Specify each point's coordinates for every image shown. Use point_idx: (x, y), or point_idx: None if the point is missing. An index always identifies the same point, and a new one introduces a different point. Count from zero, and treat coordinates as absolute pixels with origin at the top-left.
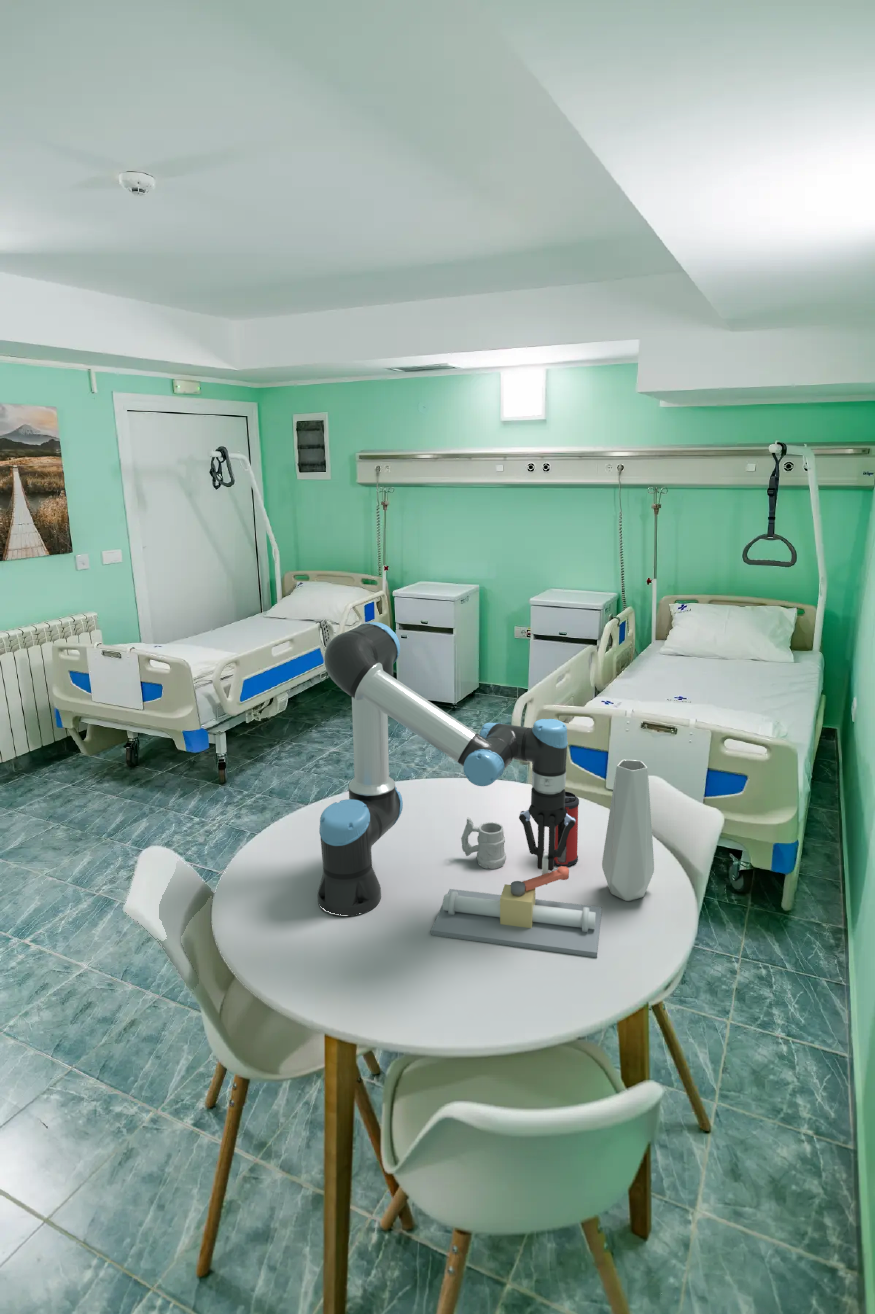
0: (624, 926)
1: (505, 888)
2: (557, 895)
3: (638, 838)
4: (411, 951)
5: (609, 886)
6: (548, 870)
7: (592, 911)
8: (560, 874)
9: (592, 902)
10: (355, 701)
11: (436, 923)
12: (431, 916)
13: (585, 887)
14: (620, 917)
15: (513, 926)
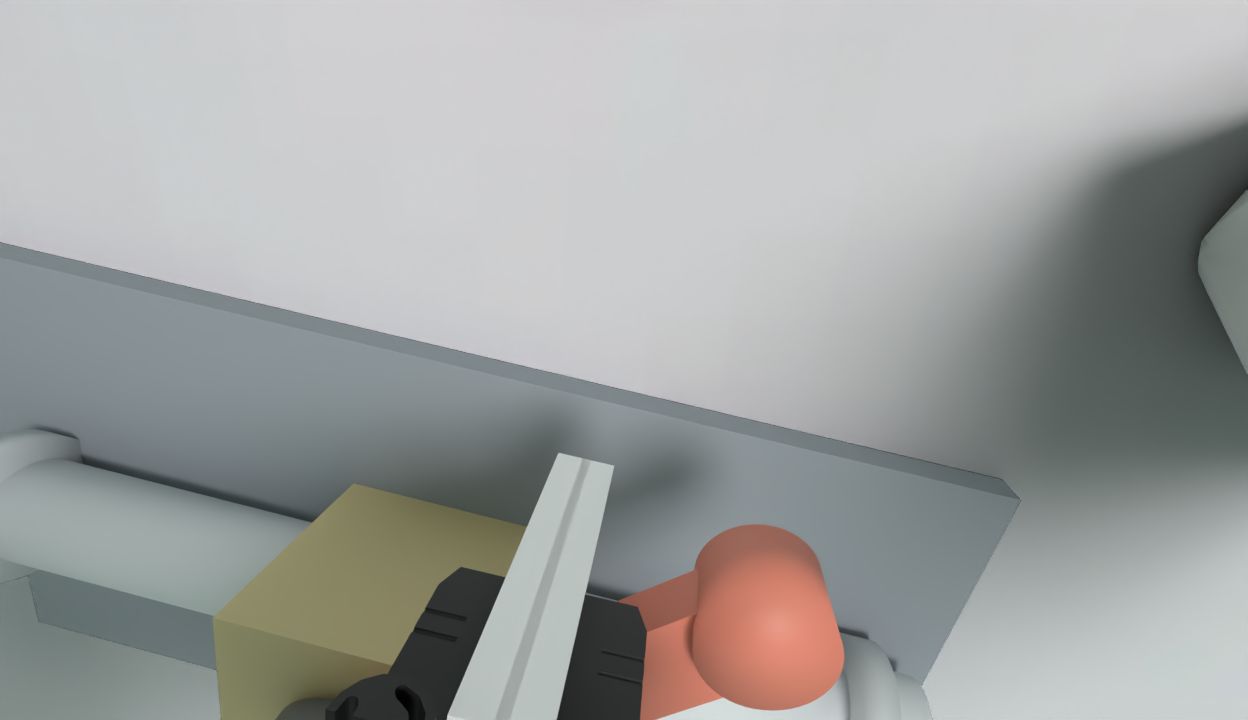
0: (1095, 624)
1: (232, 670)
2: (721, 271)
3: None
4: (39, 685)
5: (1238, 247)
6: (589, 575)
7: (931, 541)
8: (717, 697)
9: (975, 369)
10: None
11: (39, 577)
12: None
13: (992, 147)
14: (1114, 542)
15: None
